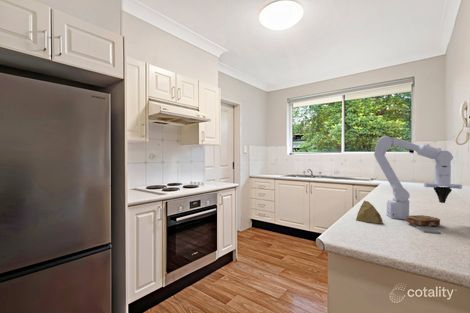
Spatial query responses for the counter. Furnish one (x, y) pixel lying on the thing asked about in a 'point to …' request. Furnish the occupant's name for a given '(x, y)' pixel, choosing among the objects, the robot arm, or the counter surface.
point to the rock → (368, 214)
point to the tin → (423, 220)
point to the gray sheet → (426, 229)
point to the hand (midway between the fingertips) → (442, 202)
